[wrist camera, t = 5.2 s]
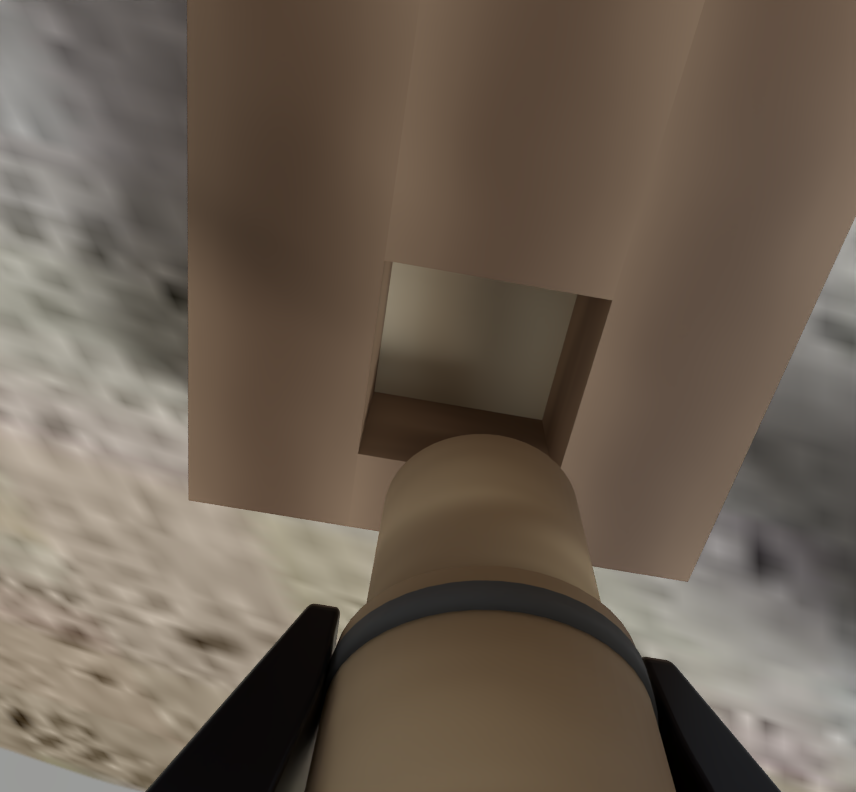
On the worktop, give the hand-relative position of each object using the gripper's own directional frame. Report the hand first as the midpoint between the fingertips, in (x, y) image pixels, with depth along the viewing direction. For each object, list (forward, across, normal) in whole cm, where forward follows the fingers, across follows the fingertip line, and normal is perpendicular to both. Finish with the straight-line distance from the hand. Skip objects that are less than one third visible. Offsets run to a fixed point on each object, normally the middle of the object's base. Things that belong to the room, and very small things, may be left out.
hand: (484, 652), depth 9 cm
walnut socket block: (+13, 0, -5) cm, 14 cm away
